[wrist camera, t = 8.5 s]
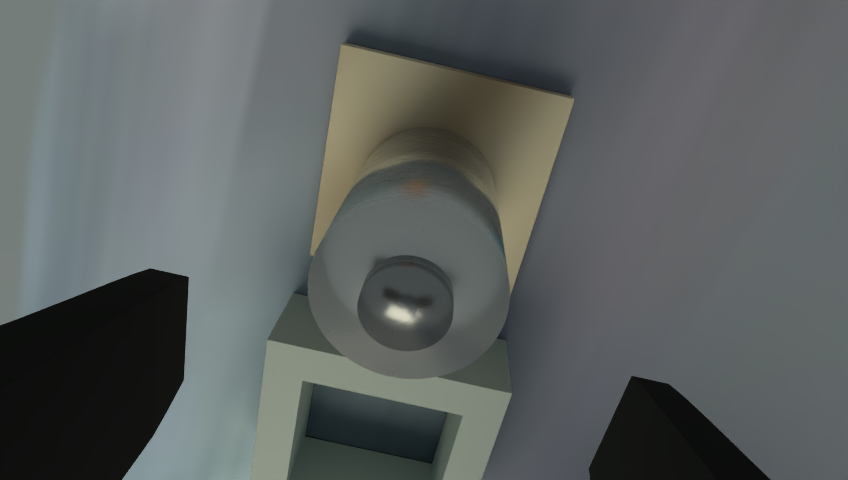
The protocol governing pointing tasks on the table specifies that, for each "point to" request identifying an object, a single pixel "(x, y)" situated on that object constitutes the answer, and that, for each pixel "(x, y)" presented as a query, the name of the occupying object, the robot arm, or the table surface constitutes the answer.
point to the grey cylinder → (414, 259)
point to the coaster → (451, 110)
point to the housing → (323, 364)
